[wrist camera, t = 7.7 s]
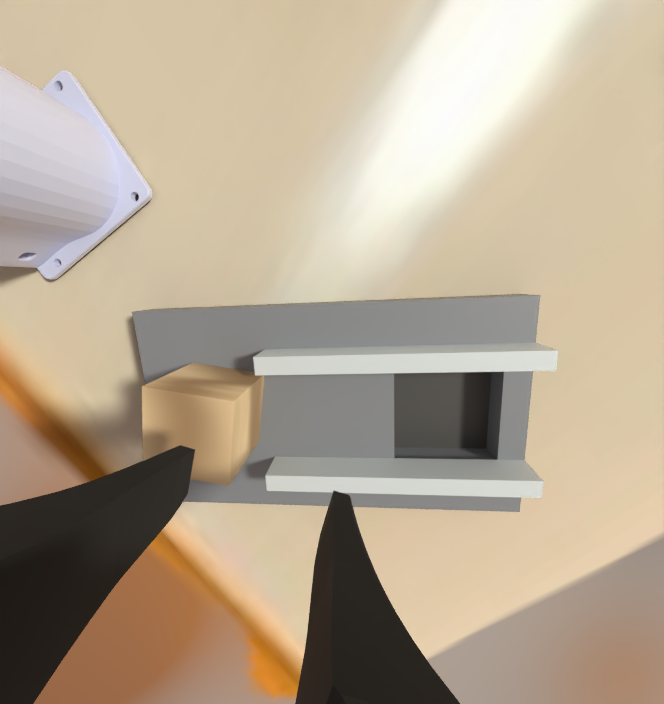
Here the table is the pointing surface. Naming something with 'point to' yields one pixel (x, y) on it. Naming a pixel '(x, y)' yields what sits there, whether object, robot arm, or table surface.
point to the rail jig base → (371, 397)
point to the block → (204, 418)
